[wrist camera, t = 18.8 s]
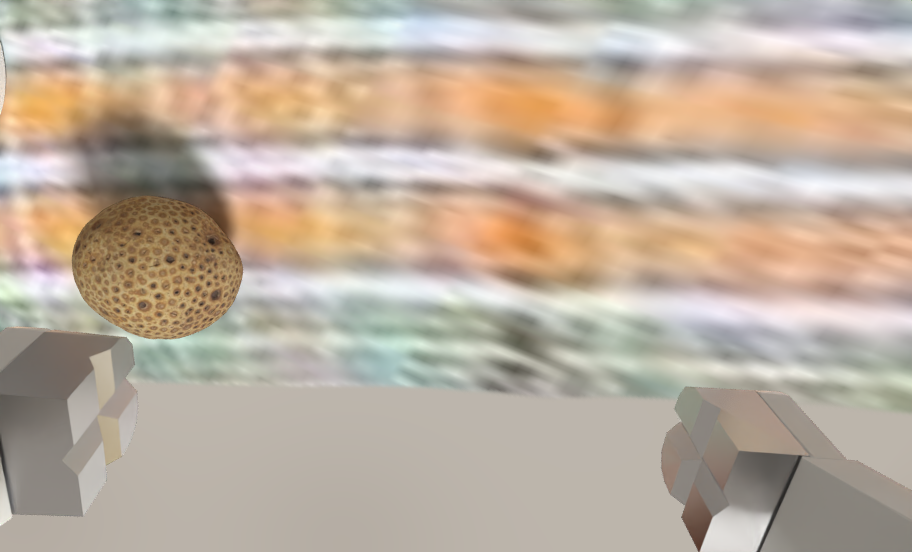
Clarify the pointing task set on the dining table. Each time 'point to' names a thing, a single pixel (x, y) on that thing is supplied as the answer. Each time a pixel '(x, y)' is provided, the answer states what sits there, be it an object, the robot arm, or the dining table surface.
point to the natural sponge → (156, 267)
